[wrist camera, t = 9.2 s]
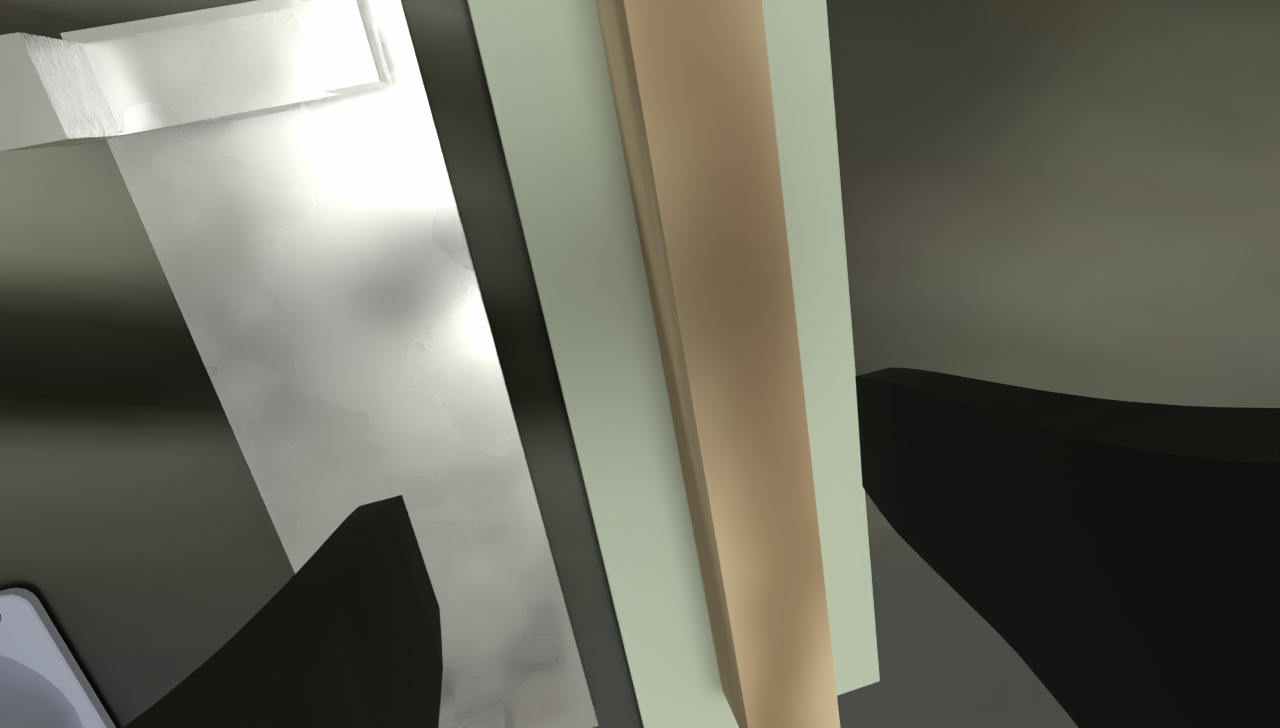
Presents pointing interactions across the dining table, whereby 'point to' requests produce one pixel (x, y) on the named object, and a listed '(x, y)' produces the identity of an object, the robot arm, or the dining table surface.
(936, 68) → the dining table surface
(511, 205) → the dining table surface
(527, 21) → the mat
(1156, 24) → the dining table surface
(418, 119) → the rack
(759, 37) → the rail
